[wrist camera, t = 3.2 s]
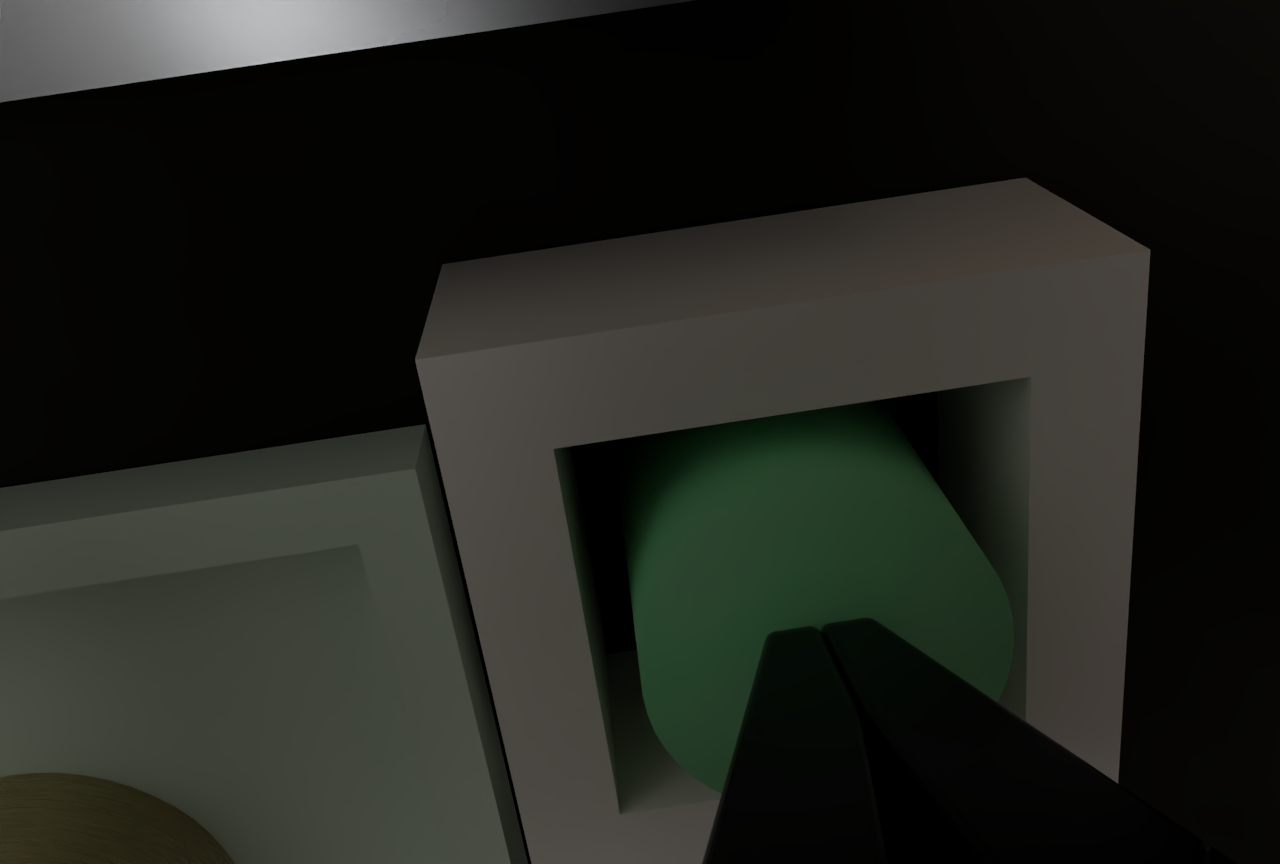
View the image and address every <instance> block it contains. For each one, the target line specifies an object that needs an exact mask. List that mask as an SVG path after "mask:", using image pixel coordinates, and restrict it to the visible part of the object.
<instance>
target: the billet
mask: <svg viewBox="0 0 1280 864" xmlns="http://www.w3.org/2000/svg"><path fill="white" fill-rule="evenodd" d="M0 864H234V862H233V861H232V859H231V858H230V856H229V855H228V853H227V852H226V850H225V849H224V848H223V847H222V846H221V845H220V843H219V842H218V841H217V840H216V839H215V838H214V837H213V836H212V835H211V834H210V833H209V832H208V831H207V830H206V829H205V828H203V827H202V826H201V825H200V824H199V823H198V822H196V821H195V820H194V819H192V818H191V817H189V816H188V815H187V814H185V813H184V812H182V811H181V810H179V809H178V808H176V807H174V806H172V805H171V804H169V803H167V802H165V801H163V800H161V799H159V798H157V797H155V796H153V795H151V794H148V793H146V792H143V791H141V790H138V789H136V788H133V787H130V786H127V785H123V784H120V783H117V782H113V781H110V780H105V779H100V778H95V777H90V776H85V775H75V774H65V773H28V774H18V775H9V776H4V777H0Z"/></svg>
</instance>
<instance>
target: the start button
mask: <svg viewBox="0 0 1280 864" xmlns="http://www.w3.org/2000/svg"><path fill="white" fill-rule="evenodd" d="M619 500H620V512H621V520H622V529H623V537H624V545H625V554H626V562H627V570H628V579H629V587H630V595H631V603H632V612H633V620H634V628H635V637H636V645H637V653H638V662H639V670H640V678H641V687H642V695H643V699H644V703H645V707H646V711H647V715H648V717H649V720H650V722H651V724H652V727H653V729H654V731H655V733H656V735H657V736H658V738H659V740H660V741H661V743H662V744H663V746H664V748H665V749H666V750H667V751H668V753H669V754H670V755H671V756H672V757H673V758H674V760H675V761H676V762H677V763H678V764H679V765H680V766H681V767H682V768H684V769H685V770H686V771H687V772H688V773H689V774H690V775H692V776H693V777H694V778H696V779H697V780H699V781H700V782H702V783H703V784H705V785H706V786H708V787H709V788H711V789H713V790H715V791H717V792H719V793H721V794H722V791H723V787H724V784H725V780H726V777H727V773H728V770H729V766H730V763H731V759H732V755H733V752H734V748H735V745H736V741H737V738H738V734H739V731H740V727H741V724H742V720H743V717H744V713H745V709H746V706H747V702H748V699H749V695H750V692H751V688H752V685H753V681H754V678H755V674H756V671H757V667H758V663H759V660H760V656H761V653H762V649H763V646H764V642H765V639H766V637H767V636H768V634H770V633H771V632H774V631H781V630H787V629H794V628H801V627H807V626H813V627H815V628H818V630H819V631H820V632H821V629H822V627H823V626H824V625H825V624H828V623H833V622H840V621H846V620H853V619H859V618H872V619H874V620H876V621H878V622H879V623H881V624H882V625H884V626H885V627H887V628H888V629H890V630H891V631H893V632H894V633H896V634H897V635H898V636H900V637H901V638H903V639H904V640H906V641H907V642H909V643H910V644H912V645H913V646H915V647H916V648H918V649H919V650H921V651H922V652H924V653H925V654H927V655H928V656H930V657H931V658H933V659H934V660H936V661H937V662H939V663H940V664H941V665H943V666H944V667H946V668H947V669H949V670H950V671H952V672H953V673H955V674H956V675H958V676H959V677H961V678H962V679H964V680H965V681H967V682H968V683H970V684H971V685H973V686H974V687H976V688H977V689H979V690H980V691H982V692H983V693H984V694H986V695H987V696H989V697H990V698H992V699H993V700H995V701H996V702H998V700H999V699H1000V697H1001V694H1002V692H1003V689H1004V687H1005V684H1006V681H1007V679H1008V675H1009V671H1010V667H1011V663H1012V659H1013V649H1014V625H1013V616H1012V611H1011V607H1010V603H1009V599H1008V596H1007V594H1006V591H1005V589H1004V587H1003V584H1002V582H1001V580H1000V578H999V576H998V575H997V573H996V572H995V570H994V568H993V567H992V565H991V564H990V562H989V561H988V559H987V558H986V556H985V555H984V553H983V552H982V550H981V549H980V547H979V546H978V544H977V543H976V541H975V540H974V538H973V537H972V535H971V534H970V532H969V531H968V529H967V528H966V526H965V525H964V523H963V522H962V520H961V519H960V517H959V516H958V514H957V513H956V511H955V510H954V508H953V507H952V505H951V504H950V502H949V501H948V499H947V498H946V496H945V495H944V493H943V492H942V490H941V489H940V487H939V486H938V484H937V483H936V481H935V480H934V478H933V477H932V475H931V474H930V472H929V471H928V469H927V468H926V466H925V465H924V463H923V462H922V460H921V459H920V457H919V456H918V454H917V453H916V451H915V450H914V448H913V447H912V445H911V444H910V442H909V441H908V439H907V438H906V436H905V435H904V433H903V432H902V430H901V429H900V428H899V426H898V425H897V423H896V422H895V420H894V419H893V417H892V416H891V414H890V413H889V411H888V410H887V408H886V407H885V405H884V404H883V403H882V402H881V401H880V400H874V401H868V402H861V403H854V404H848V405H841V406H834V407H828V408H821V409H815V410H808V411H801V412H795V413H788V414H781V415H775V416H768V417H762V418H755V419H748V420H742V421H735V422H728V423H722V424H715V425H708V426H702V427H695V428H689V429H682V430H675V431H669V432H662V433H655V434H649V435H642V436H636V437H634V439H633V441H632V443H631V444H630V447H629V450H628V452H627V455H626V458H625V461H624V464H623V469H622V474H621V478H620V492H619Z"/></svg>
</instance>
